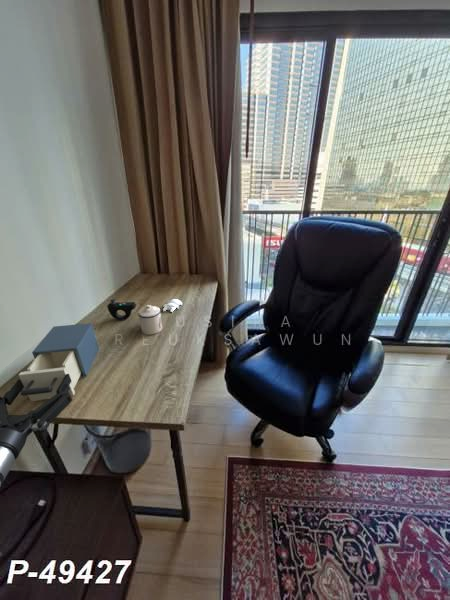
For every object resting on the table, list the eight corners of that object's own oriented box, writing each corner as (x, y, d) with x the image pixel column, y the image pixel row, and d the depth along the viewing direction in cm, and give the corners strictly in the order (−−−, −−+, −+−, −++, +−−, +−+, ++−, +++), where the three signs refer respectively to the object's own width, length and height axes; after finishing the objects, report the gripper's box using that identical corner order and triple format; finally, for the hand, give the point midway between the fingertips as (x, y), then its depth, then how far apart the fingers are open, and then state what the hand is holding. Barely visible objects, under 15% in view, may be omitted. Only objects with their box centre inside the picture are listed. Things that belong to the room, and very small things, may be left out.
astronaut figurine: (158, 311, 123) (157, 305, 122) (171, 300, 133) (171, 295, 132) (173, 314, 120) (173, 308, 119) (186, 303, 130) (185, 298, 129)
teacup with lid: (164, 332, 106) (161, 308, 101) (142, 337, 103) (138, 312, 98) (159, 319, 116) (156, 296, 111) (139, 323, 113) (134, 300, 108)
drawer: (67, 409, 70) (56, 383, 66) (21, 415, 68) (7, 388, 64) (88, 365, 86) (80, 341, 82) (52, 369, 85) (42, 345, 80)
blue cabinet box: (86, 376, 83) (76, 347, 78) (44, 381, 81) (31, 352, 76) (99, 349, 96) (91, 323, 91) (63, 353, 94) (53, 326, 89)
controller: (112, 317, 118) (107, 298, 113) (139, 315, 119) (135, 296, 115) (109, 322, 114) (104, 302, 110) (137, 320, 115) (133, 301, 111)
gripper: (-62, 477, 52) (3, 395, 71) (63, 457, 55) (93, 384, 74) (-82, 454, 48) (-8, 375, 67) (52, 434, 52) (87, 364, 71)
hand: (45, 380), depth 71 cm, fingers closed on drawer, 12 cm apart
